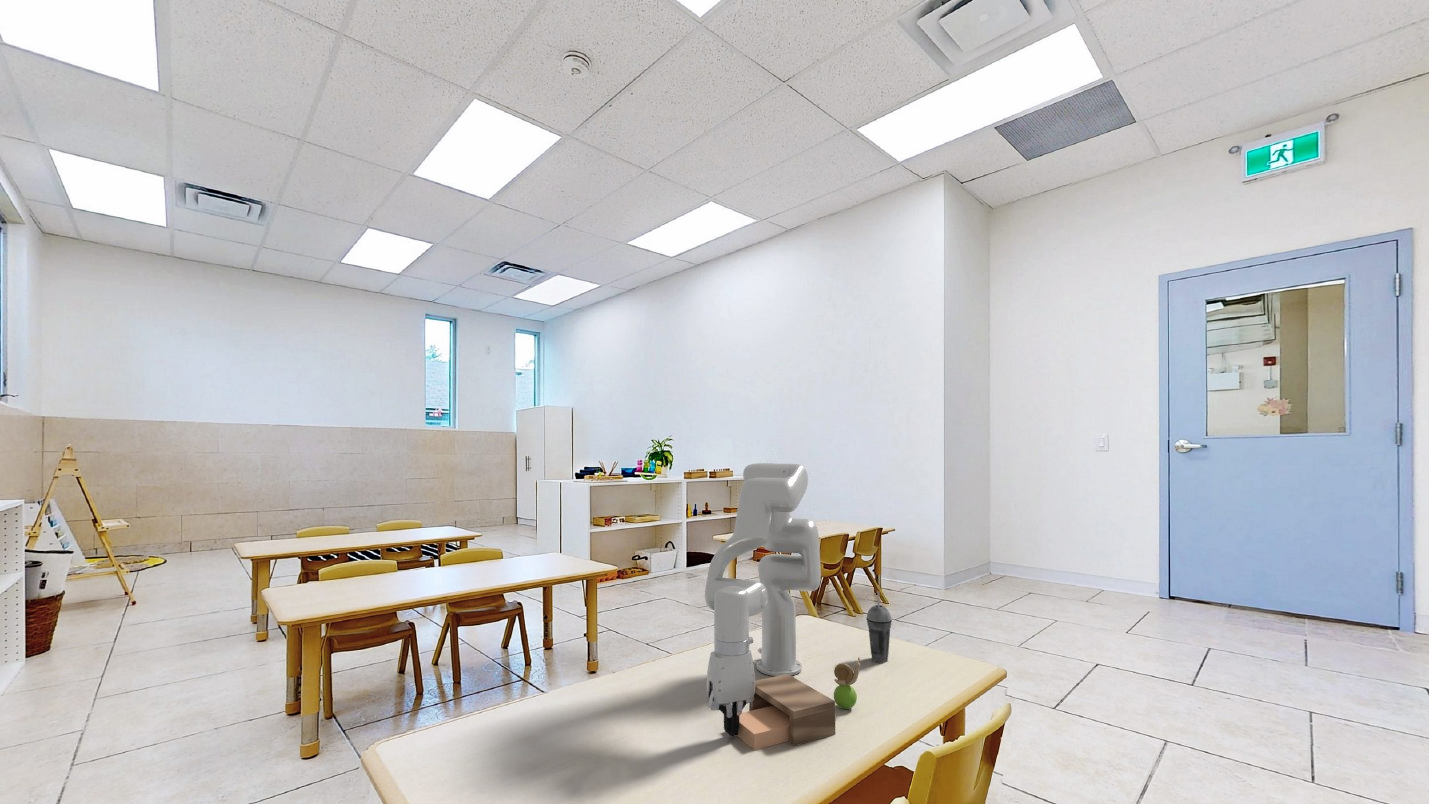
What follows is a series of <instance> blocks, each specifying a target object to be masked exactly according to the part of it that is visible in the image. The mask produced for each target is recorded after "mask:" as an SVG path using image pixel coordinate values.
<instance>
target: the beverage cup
mask: <svg viewBox="0 0 1429 804" xmlns="http://www.w3.org/2000/svg"><path fill="white" fill-rule="evenodd" d="M876 595H877V604H875V605H873V606H871V607H870V608H869V610H868V611H867V613H866V623H867V626H868V636H869V647H870V654H871V660H872V661H873V662H876V663H880V664H881V663H887V662H889V661H888V660H889V659H888V658H889V652H890V651H889V650H890V636H891V627H892V622H893V620H892V616H891V613H890V610H889V609H887V607H886V606H883V605H881V604H880V590H877V594H876Z"/></svg>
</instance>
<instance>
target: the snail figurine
mask: <svg viewBox="0 0 1429 804" xmlns="http://www.w3.org/2000/svg"><path fill="white" fill-rule="evenodd" d="M857 660H858V661H856V662H855V663H854V664H853V665H854V669H853V668H852V667H851V665H850V664H847V663H845V662H844V663H843V662H841V663H838V664H837V665H836V666H835V667H834V668H833V669H834V670H833V673H834V677H836V679H835V678H834V682H835V683H836V684H837V686H836V687H835V689H834V690H833V700H834V701H835V705H836V706H837V707H839V708H841V709H843V710H849V709H851V708H853V707H854V706H855V705H856V703H857V700H858V695H857V692H856V690H855V688H854V687H853V686H851V685H854V684H855V683H856V682H857V679H858V677H859V672H860V668H861V663H860V661H861V657H860V656H858V657H857ZM853 670H854V671H853Z"/></svg>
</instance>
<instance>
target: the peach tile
mask: <svg viewBox="0 0 1429 804" xmlns="http://www.w3.org/2000/svg"><path fill="white" fill-rule="evenodd" d="M737 736H738V737H739V738H740V739H741V740H742V741H743V742H744V743H745V744H746V745H748V746H749V747H750V748H752V749H753V750H754V751H756V750H759V749H764V748H766V747H767V748H768V747H770V746H774V745H779V744H782V743H785V742H790V716H789V715H787V714H786V713H784V712H783V711H781V710H780V709H778V708H777V707H776V706H769V707H765V708H761V709H756V710H752V711H749V710H748V711H744V712H743V711H742V714H741V715H740V716H739V729H738V735H737Z"/></svg>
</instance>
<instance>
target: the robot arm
mask: <svg viewBox="0 0 1429 804" xmlns="http://www.w3.org/2000/svg"><path fill="white" fill-rule="evenodd" d="M744 467H745V468H744V469H743V473H742V477H743V483H742V485H741V488H740V493H739V499H738V505H737V510H736V517H735V522H734V529H733V533H732V535H731V536H730V537H729V538H728V539H727V540H726V541H724V543H723V544H722V545H721V546H720V547H719V548H718V550H717V551H716V552H715V554H714V556H713V557H712V559H711V561H710V564H709V567H708V571H707V577H706V584H705V587H704V588H705V590H704V598H705V599H704V600H705V603H706V605H707V607H708V608H709V609H710V610H712V611H713V613H714V615H713V619H714V621H713V622H714V625H713V628H714V631H713V632H714V633H713V635H714V636H713V638H714V640H713V642H714V643H713V645H714V646H713V647H714V649H713V651H711V652H710V654H709V659H708V666H707V672H706V673H707V674H706V684H705V685H706V686H705V689H706V690H705V692H706V698H708V699H709V700H708V701H709V702H708V704H707V707H708V708H709V709H710V710H712V711H720V712H721V713H722V714H723V730H724V732H725V733H726V734H728V735H729V736H730V737H735V736H738V729H739V716H740V715H741V714H742V713H743V709H745V707H746V705H747V704H748V705H749V703H750V702H752V701H753V700H754V693H755V681H756V677H755V676H756V675H755V665H754V658H753V655H752V650H750V645H752V644H753V643H754V637H752V636H749V635H750V630H749V629H750V627H749V625H750V622H749V621H750V620H749V619H750V617H753V616H756V615H759V614H760V613H761V647H759V648H758V650H757V652H758V653H759V654H760V658H761V659H759V660H758V661H757V662H756V669H757V671H758V672H760V673H762V674H764V675H767V676H770V677H775V676H780V675H784V674H789V675H791V676H795V675H797V674H799V673H800V672H801V671H802V668H803V666H802V663H801V662H800V661H799V660H797V621H796V620H797V618H796V617H797V615H796V612H797V611H796V610H797V609H796V607H797V606H796V603H795V600H794V598H793V597H792V595H791V593H790V592H789V591H797V592H798V591H800V592H814V591H817V590H818V588H819V587H820V584H821V577H822V572H821V571H822V570H821V569H822V568H821V551H820V538H819V537H820V536H819V529H818V526H817V525H816V523H815V521H813V520H811V519H807V518H795V517H792V515H791V513H792V512H794V511H795V510H796V509H797V508H798V506H799V504H800V503H801V501H802V499H803V498H804V495H805V493H806V491H807V488H808V483H809V475H808V472H807V469H806V467H804V465H802V464H799V463H775V462H772V463H769V462H767V463H766V462H765V463H764V462H763V463H761V462H760V463H759V462H758V463H751V464H748V465H746V466H744ZM761 547H763V548H764V549H765V550H767V551H769V552H773V553H771V554H767V555H765V556H763V557H762V558H761V559H760V560H759V562H758V565H757V566H758V568H757V569H758V578H759V581H758V580H753V579H752V580H751V579H742V578H734V577H733V578H731V577H724V573H725V571H726V569H727V567H728V565H730V563H731V562H732V561H733V560H735V559H736V558H737V557H739V556H743V555H744V554H746V553H748V552H752V551H754V550H757V549H758V548H759V549H760V548H761ZM775 552H776V553H775ZM781 553H785V554H781ZM792 554H793V555H792ZM794 554H795V555H794ZM796 554H798V555H796Z"/></svg>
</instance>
